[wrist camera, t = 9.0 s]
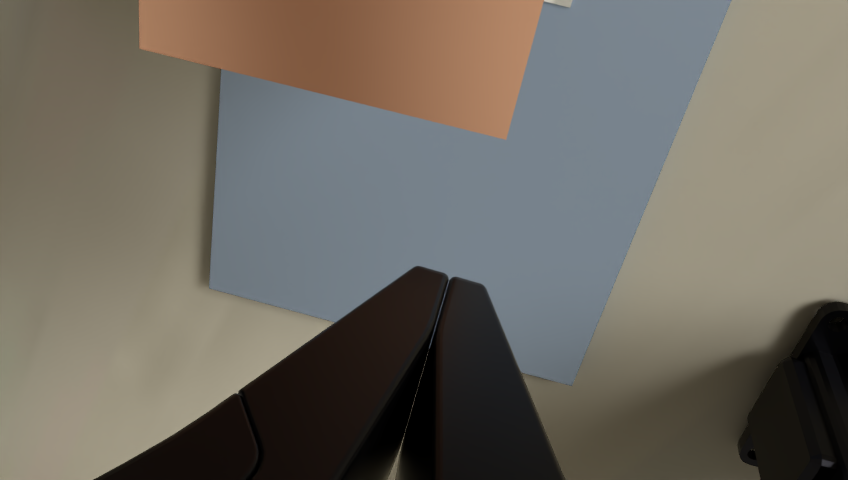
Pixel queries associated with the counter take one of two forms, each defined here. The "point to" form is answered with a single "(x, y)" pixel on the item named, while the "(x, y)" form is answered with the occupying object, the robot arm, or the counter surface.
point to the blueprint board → (465, 180)
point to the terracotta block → (364, 50)
